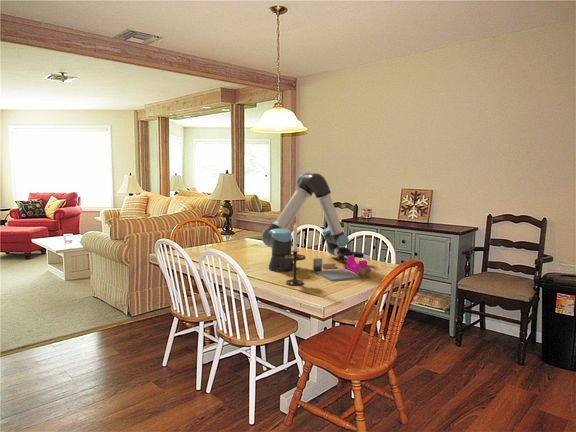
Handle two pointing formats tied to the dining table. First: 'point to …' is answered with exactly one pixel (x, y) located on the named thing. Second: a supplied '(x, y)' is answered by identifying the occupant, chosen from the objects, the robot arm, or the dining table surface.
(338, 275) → the slate mat
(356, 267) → the toy block
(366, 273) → the walnut cube
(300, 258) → the candlestick
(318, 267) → the metal peg
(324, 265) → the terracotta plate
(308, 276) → the dining table surface
